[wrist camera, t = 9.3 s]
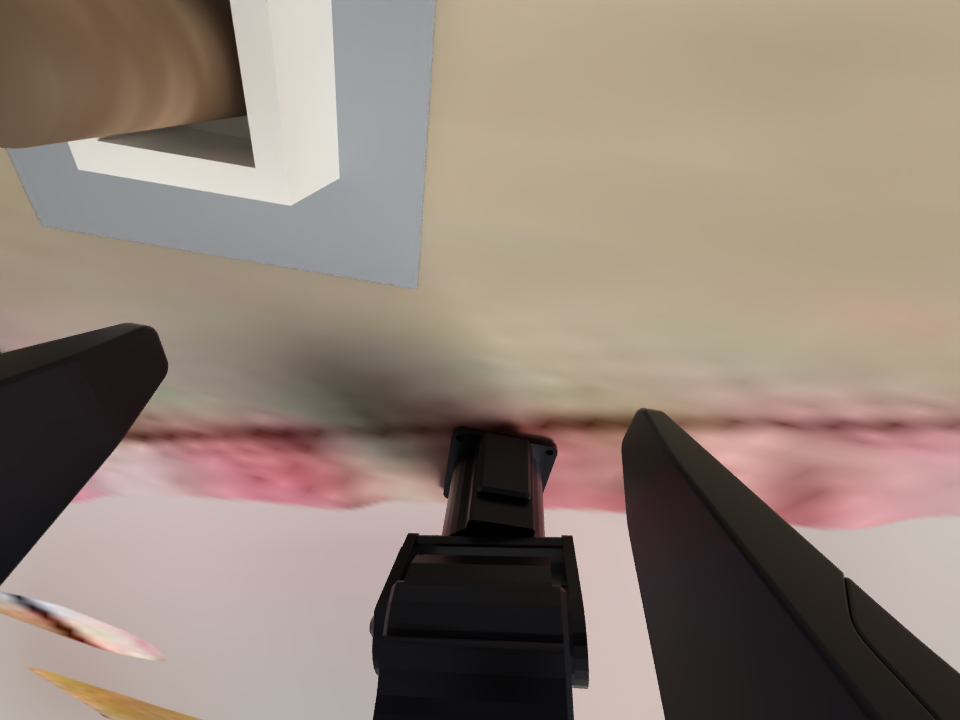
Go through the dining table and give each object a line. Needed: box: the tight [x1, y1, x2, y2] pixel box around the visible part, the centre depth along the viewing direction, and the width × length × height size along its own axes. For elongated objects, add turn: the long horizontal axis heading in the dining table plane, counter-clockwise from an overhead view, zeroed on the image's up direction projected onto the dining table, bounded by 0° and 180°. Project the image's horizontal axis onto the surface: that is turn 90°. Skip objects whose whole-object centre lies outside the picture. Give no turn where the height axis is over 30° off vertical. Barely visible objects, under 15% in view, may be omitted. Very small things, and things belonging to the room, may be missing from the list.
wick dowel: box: [0, 0, 247, 149], centre depth 11 cm, size 3×3×9 cm
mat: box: [6, 0, 436, 289], centre depth 17 cm, size 12×18×1 cm, turn 82°
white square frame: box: [68, 0, 340, 206], centre depth 13 cm, size 7×7×4 cm
